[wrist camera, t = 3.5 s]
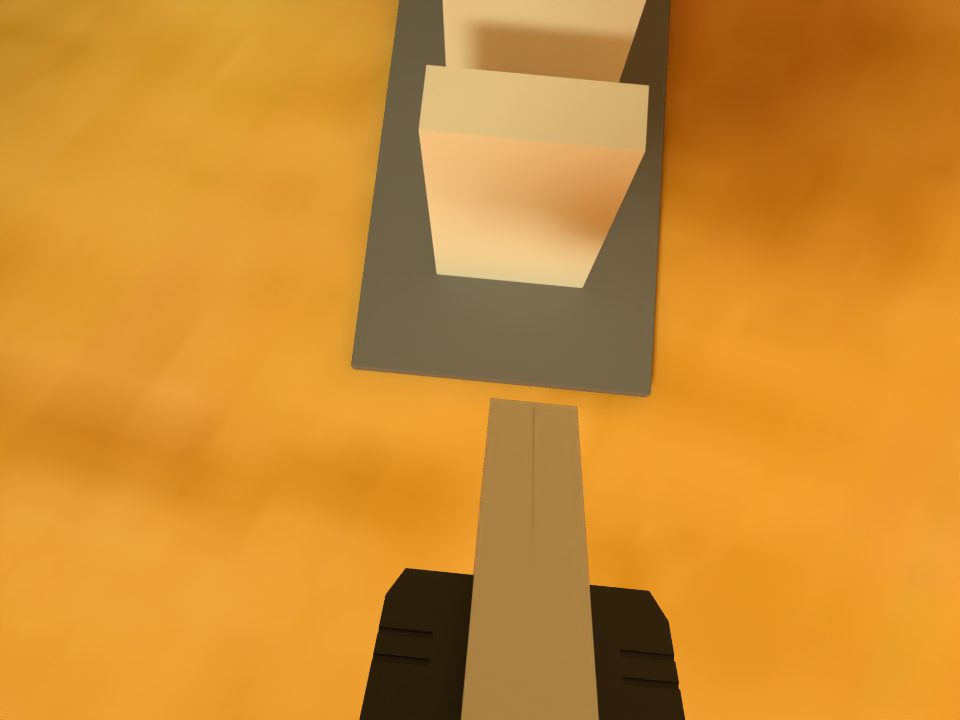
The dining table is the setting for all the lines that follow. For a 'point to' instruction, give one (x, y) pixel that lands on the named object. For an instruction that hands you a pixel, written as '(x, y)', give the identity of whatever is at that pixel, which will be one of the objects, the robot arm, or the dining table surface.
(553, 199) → the domino
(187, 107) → the dining table surface
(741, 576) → the dining table surface
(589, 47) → the domino
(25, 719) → the dining table surface
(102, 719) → the dining table surface
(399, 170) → the mat
